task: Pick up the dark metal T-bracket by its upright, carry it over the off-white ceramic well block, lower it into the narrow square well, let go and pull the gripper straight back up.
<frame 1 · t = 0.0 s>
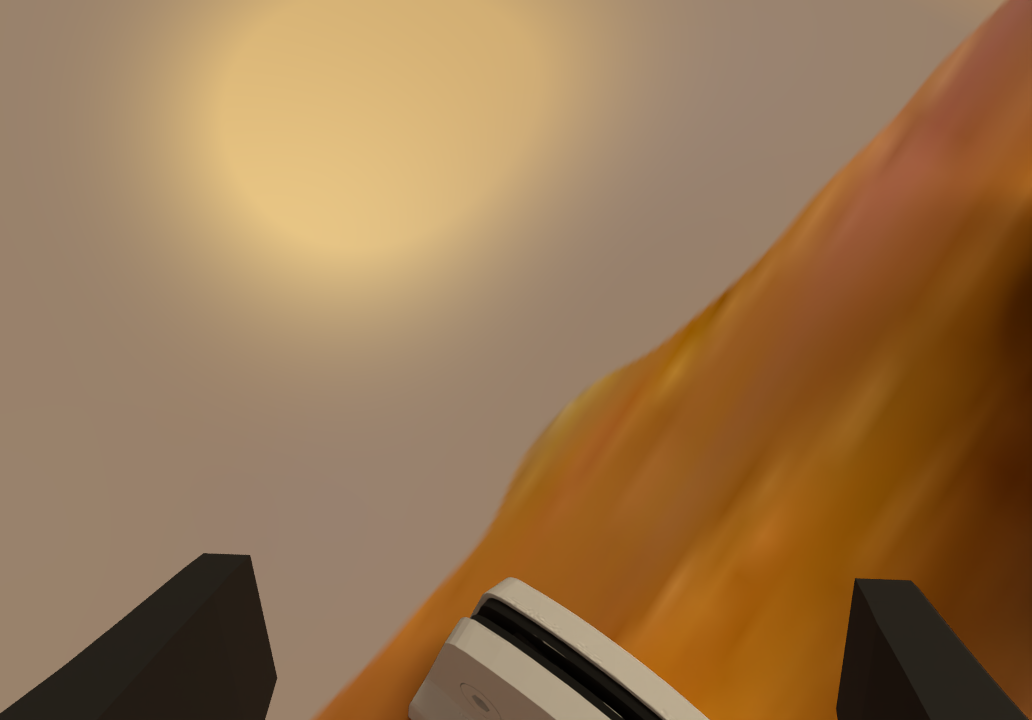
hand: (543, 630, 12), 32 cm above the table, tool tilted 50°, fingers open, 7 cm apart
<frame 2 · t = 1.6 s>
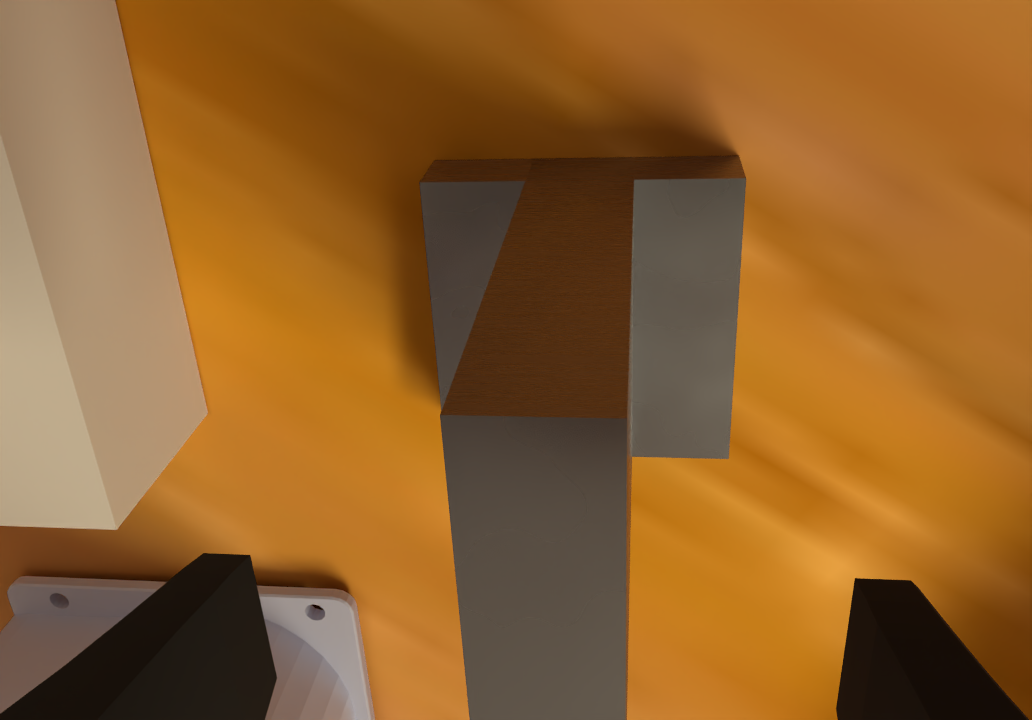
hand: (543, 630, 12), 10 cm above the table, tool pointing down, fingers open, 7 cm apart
bracket: (585, 297, 20), on the table
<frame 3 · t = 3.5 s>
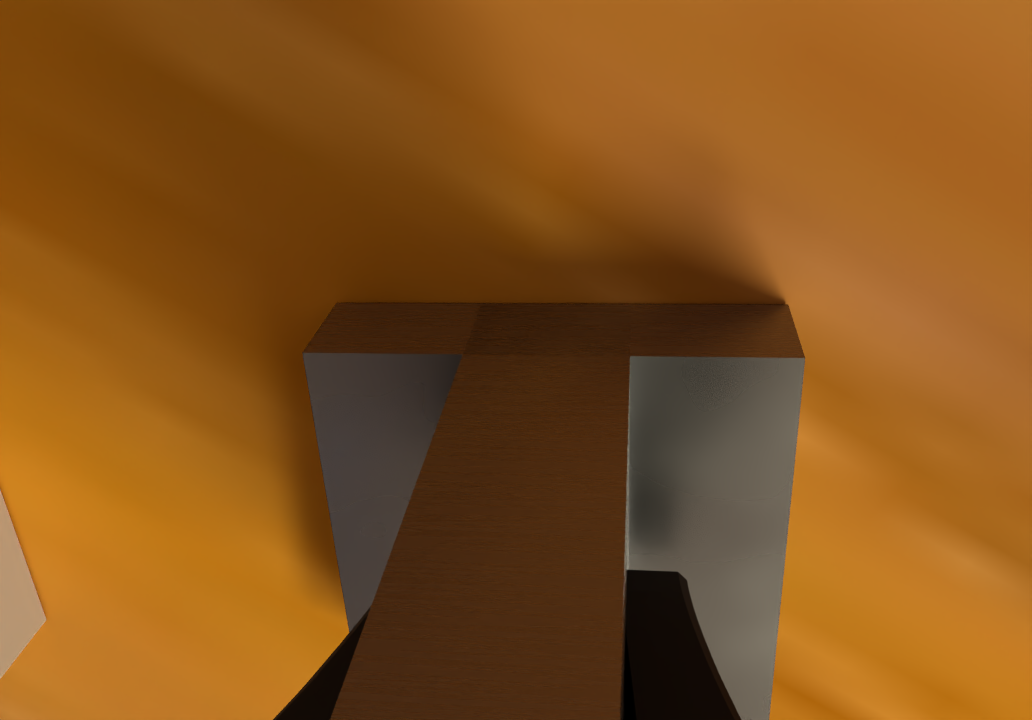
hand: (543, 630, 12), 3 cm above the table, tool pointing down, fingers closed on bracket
bracket: (561, 490, 14), on the table, touching gripper
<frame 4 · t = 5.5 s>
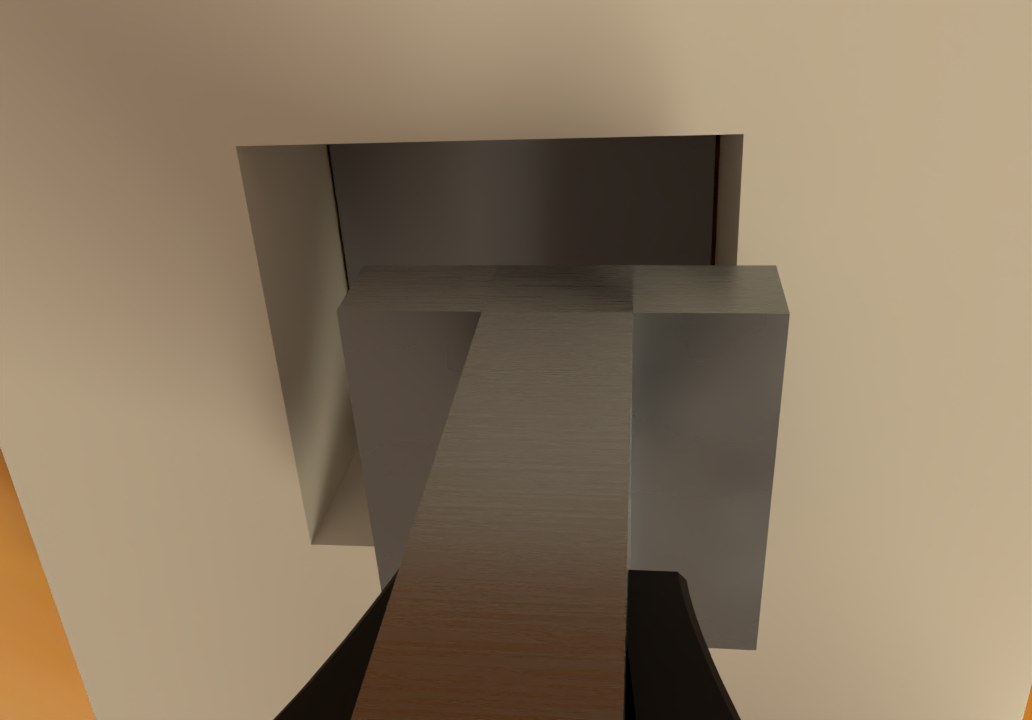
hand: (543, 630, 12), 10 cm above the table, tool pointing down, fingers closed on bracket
well block: (525, 270, 21), on the table
bracket: (569, 436, 16), point 6 cm above the table, touching gripper
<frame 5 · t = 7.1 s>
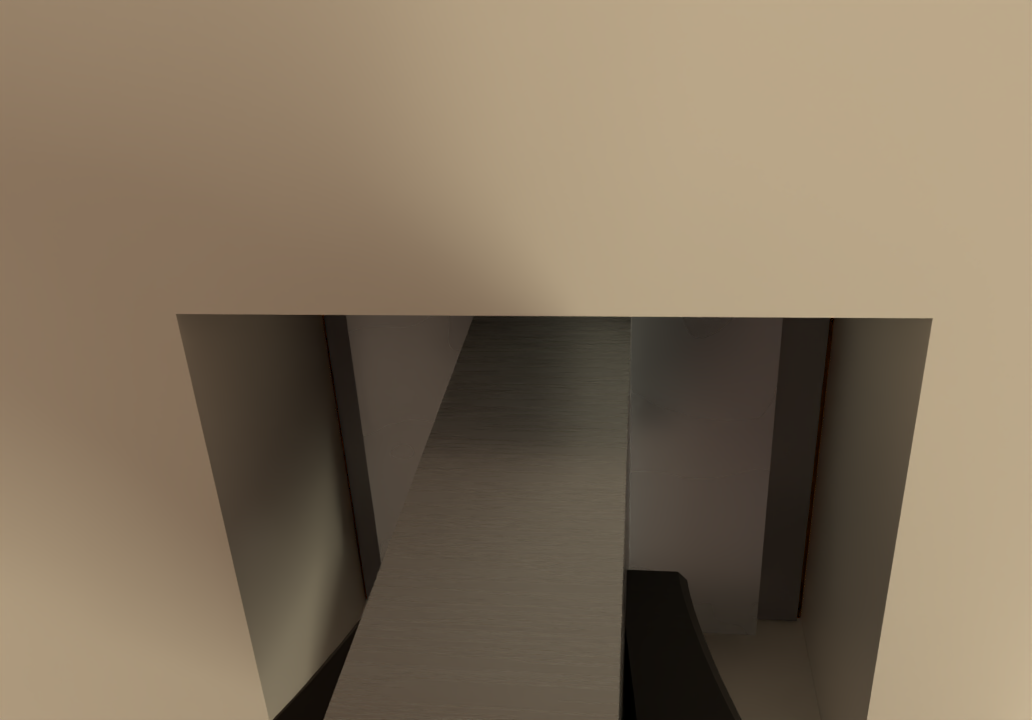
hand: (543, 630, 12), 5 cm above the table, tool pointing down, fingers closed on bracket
well block: (572, 421, 16), on the table
bracket: (569, 421, 16), resting on well block, touching gripper
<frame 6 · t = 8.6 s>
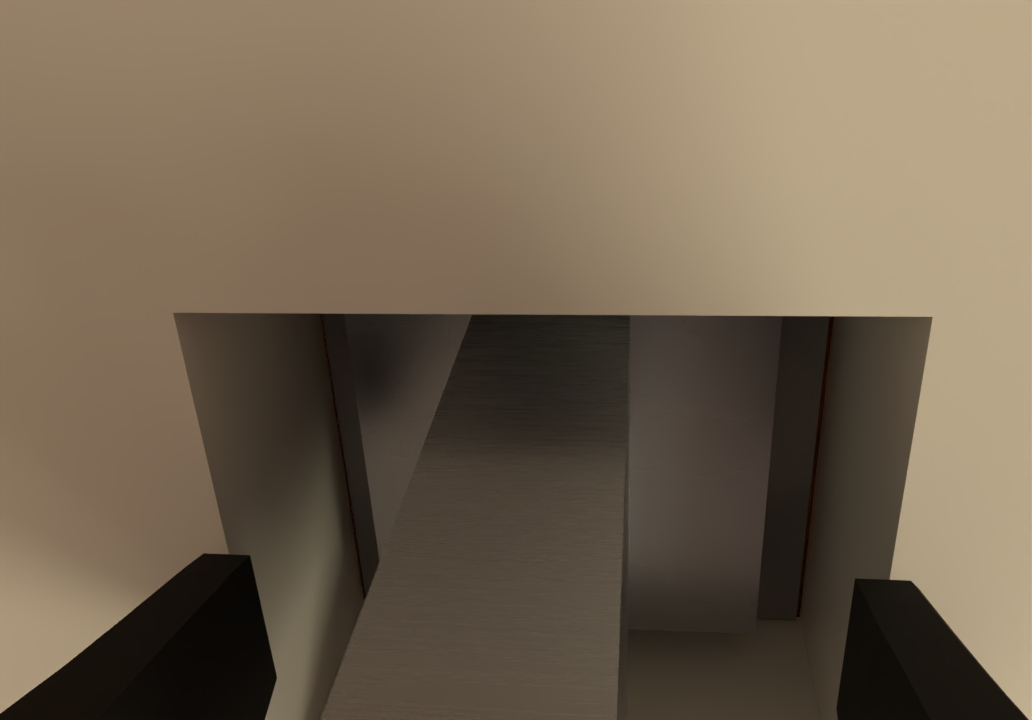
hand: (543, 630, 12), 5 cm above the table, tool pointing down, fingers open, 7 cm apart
well block: (571, 420, 16), on the table
bracket: (568, 420, 16), resting on well block
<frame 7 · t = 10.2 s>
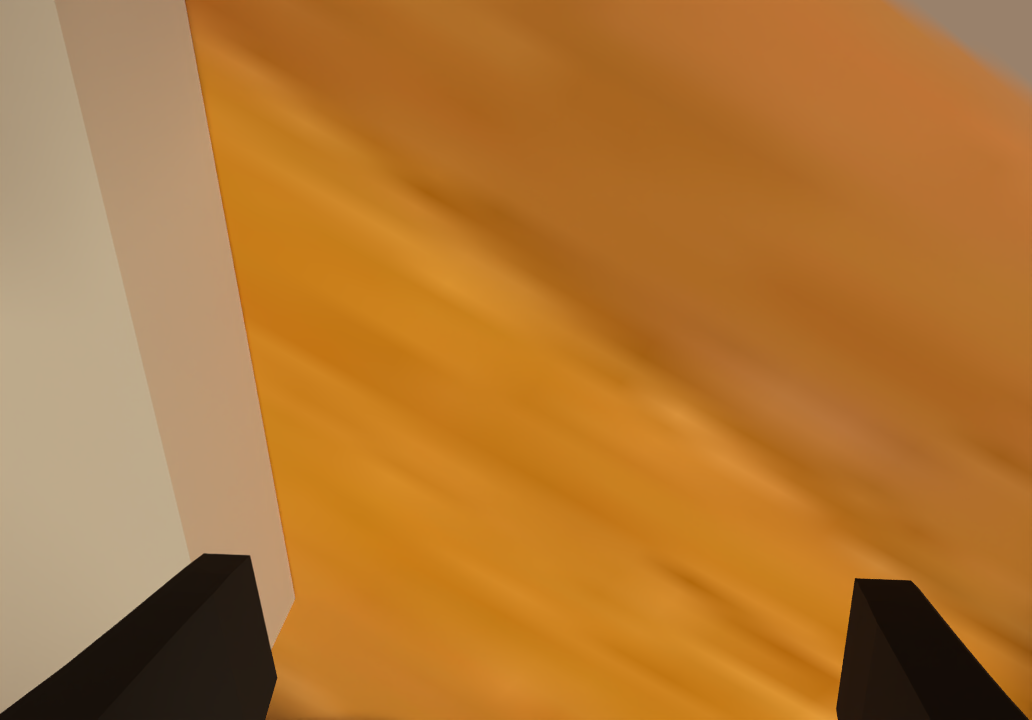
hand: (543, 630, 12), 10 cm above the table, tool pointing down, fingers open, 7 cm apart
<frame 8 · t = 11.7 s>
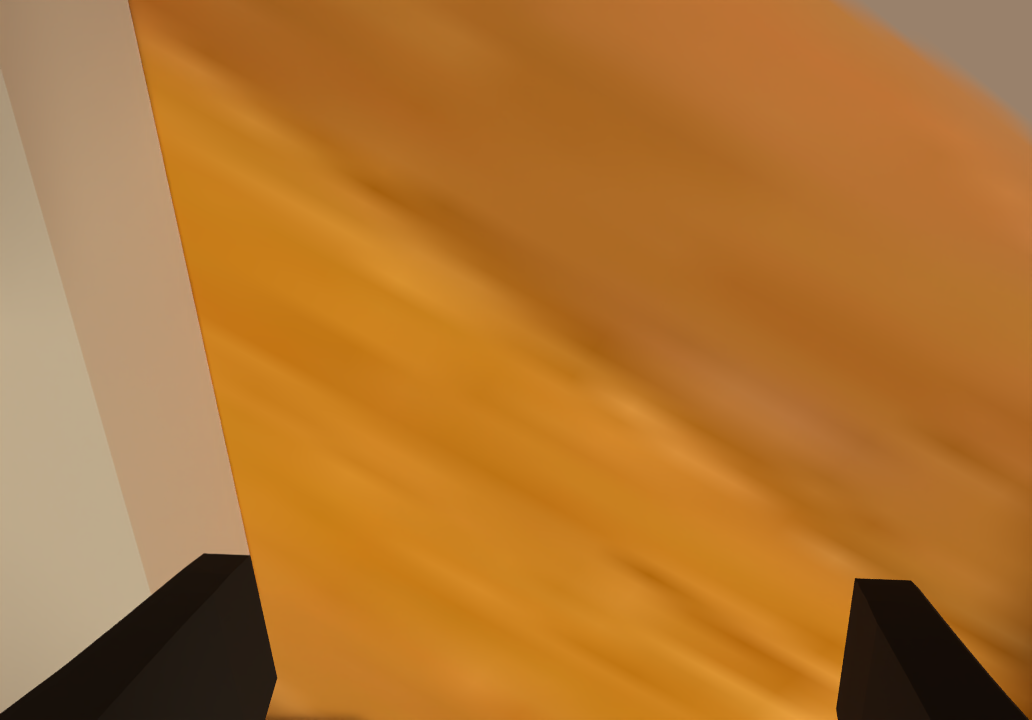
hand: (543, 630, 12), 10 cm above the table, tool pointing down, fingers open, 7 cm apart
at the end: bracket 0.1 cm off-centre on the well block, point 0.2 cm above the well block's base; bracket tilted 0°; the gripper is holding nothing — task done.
